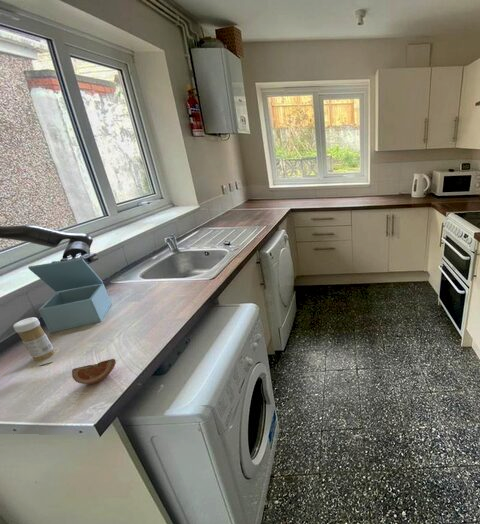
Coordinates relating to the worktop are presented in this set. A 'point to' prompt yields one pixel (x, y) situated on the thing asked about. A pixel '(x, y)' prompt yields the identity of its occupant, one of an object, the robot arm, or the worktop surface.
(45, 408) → the worktop surface
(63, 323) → the chest
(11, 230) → the robot arm
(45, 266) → the lid
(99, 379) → the fruit slice
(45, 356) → the sprinkles bottle
